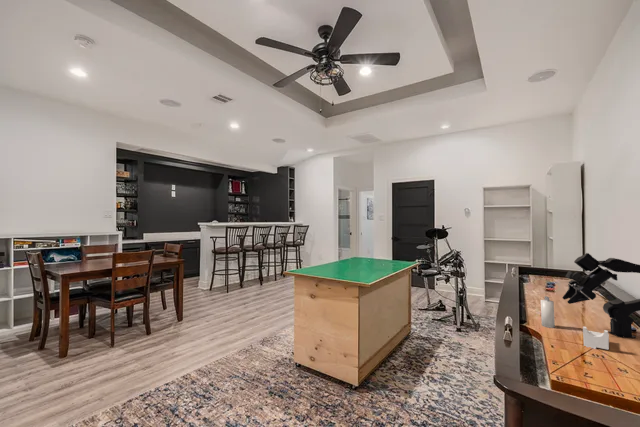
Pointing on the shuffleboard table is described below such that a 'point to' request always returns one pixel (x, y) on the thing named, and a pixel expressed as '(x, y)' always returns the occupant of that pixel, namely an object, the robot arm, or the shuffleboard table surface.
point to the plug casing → (547, 313)
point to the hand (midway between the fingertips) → (565, 300)
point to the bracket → (596, 339)
